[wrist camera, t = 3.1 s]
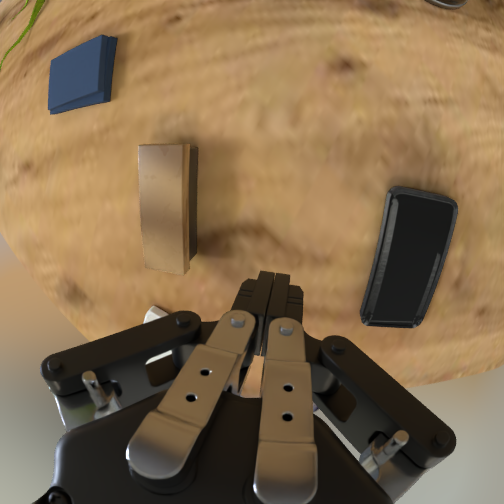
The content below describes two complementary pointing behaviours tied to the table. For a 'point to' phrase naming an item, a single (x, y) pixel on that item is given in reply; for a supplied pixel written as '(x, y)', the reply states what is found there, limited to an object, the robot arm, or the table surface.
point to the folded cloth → (82, 75)
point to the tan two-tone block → (168, 205)
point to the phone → (408, 257)
